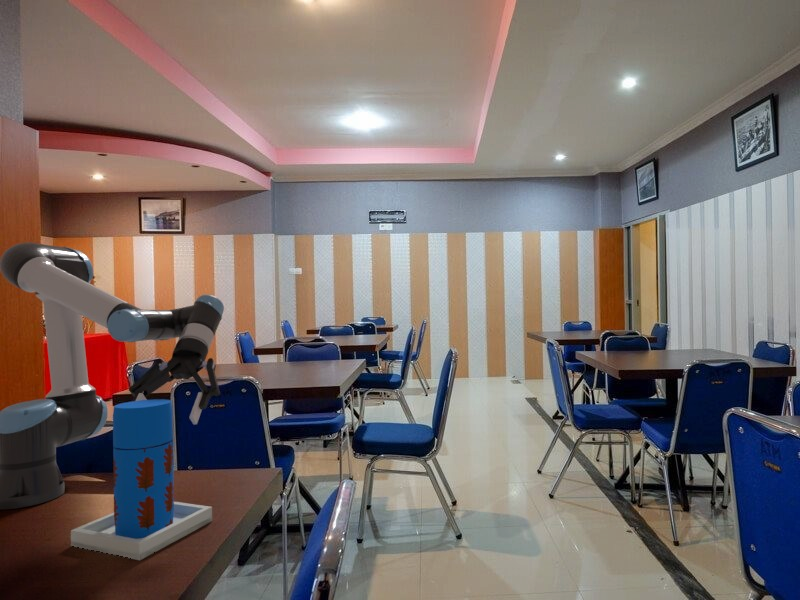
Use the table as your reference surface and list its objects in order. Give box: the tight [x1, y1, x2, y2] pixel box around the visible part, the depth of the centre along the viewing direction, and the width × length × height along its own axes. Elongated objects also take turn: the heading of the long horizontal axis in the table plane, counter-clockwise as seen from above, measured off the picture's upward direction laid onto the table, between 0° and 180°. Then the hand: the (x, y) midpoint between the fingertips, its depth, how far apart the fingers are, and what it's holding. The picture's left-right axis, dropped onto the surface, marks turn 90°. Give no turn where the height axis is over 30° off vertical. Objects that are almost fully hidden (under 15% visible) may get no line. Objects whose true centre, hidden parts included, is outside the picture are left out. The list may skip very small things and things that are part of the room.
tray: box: [70, 501, 213, 561], centre depth 102 cm, size 18×18×3 cm
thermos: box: [112, 398, 175, 539], centre depth 102 cm, size 11×11×25 cm
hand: (162, 421), depth 108 cm, fingers open, 13 cm apart
